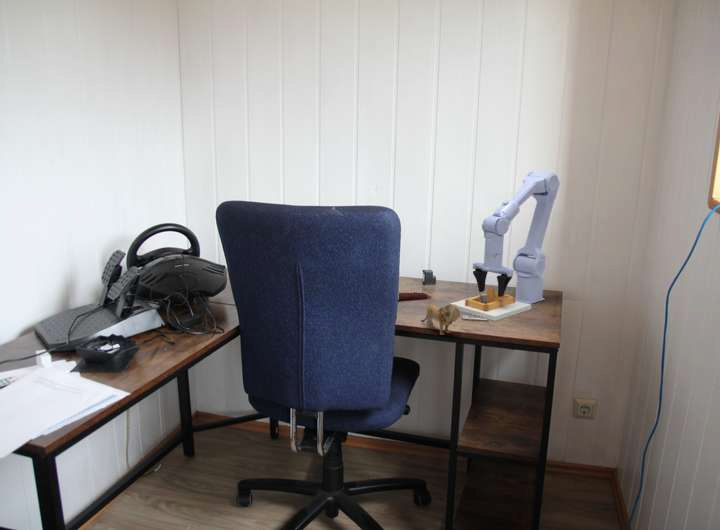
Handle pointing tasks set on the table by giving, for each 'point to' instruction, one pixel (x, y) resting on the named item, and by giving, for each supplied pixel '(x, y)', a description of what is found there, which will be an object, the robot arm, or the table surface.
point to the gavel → (413, 296)
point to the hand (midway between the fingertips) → (491, 293)
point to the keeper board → (495, 313)
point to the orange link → (490, 301)
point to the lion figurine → (442, 316)
